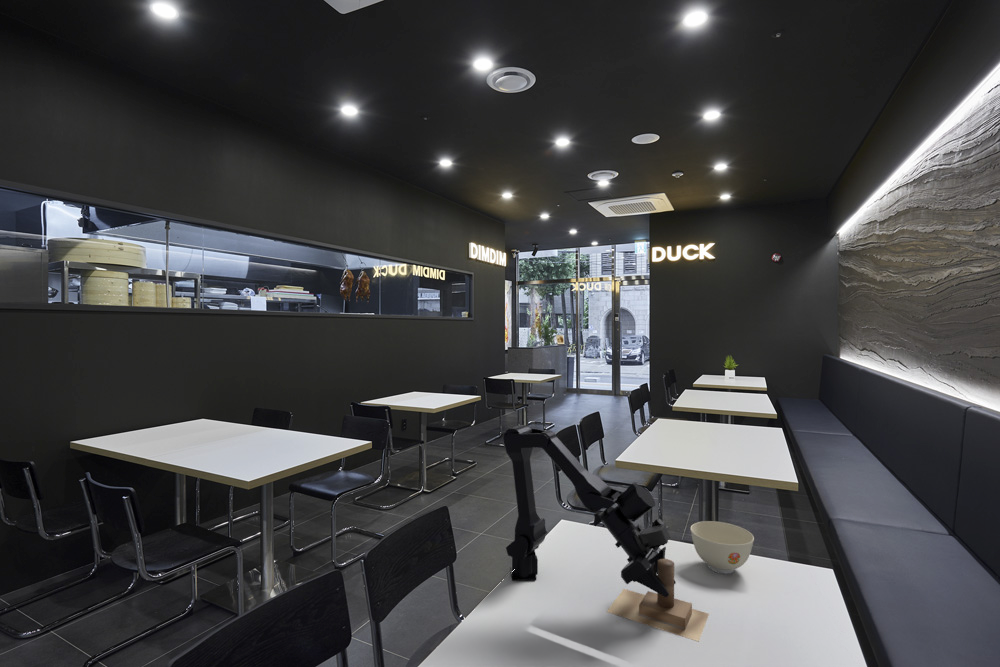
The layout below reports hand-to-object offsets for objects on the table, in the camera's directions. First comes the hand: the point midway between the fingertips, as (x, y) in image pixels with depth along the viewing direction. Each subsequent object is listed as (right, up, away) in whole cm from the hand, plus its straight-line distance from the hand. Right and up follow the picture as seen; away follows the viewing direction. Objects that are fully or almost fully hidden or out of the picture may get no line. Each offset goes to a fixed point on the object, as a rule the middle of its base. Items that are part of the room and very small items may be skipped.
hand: (671, 590), depth 113 cm
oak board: (-2, -7, +2) cm, 8 cm away
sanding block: (-1, -6, +1) cm, 6 cm away
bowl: (+22, -7, +25) cm, 34 cm away
